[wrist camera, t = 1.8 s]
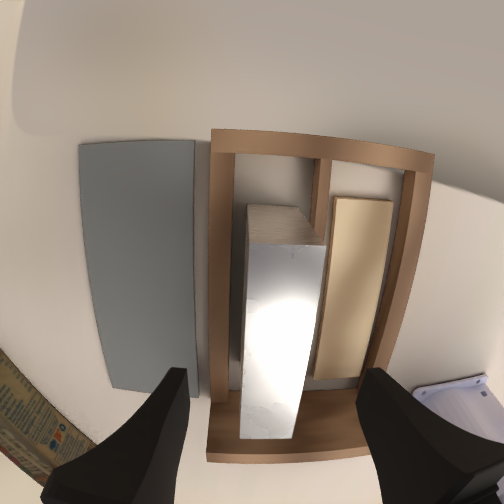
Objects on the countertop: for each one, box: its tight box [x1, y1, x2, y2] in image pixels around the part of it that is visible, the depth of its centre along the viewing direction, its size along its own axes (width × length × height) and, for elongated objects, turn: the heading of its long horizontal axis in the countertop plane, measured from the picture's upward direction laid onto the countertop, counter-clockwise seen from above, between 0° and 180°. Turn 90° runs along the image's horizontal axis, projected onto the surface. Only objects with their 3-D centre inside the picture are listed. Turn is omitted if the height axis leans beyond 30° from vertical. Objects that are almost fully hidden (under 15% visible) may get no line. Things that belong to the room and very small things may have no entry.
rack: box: [206, 129, 435, 464], centre depth 17 cm, size 12×19×6 cm, turn 177°
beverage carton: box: [0, 348, 96, 487], centre depth 21 cm, size 8×19×7 cm, turn 31°
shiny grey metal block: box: [240, 204, 326, 439], centre depth 17 cm, size 3×11×7 cm, turn 177°
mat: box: [79, 140, 199, 398], centre depth 19 cm, size 7×18×1 cm, turn 177°
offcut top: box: [312, 197, 394, 380], centre depth 20 cm, size 4×13×1 cm, turn 179°
